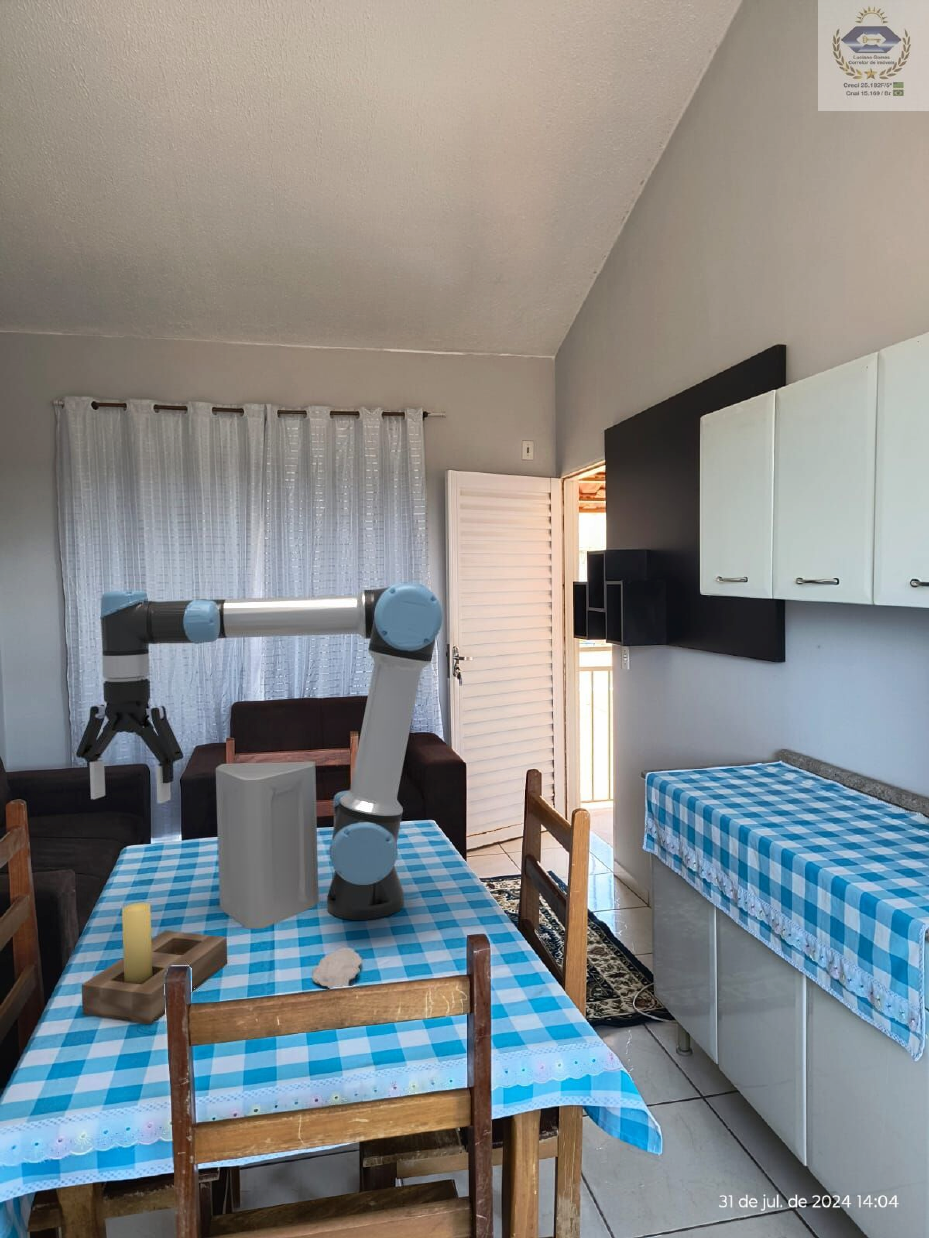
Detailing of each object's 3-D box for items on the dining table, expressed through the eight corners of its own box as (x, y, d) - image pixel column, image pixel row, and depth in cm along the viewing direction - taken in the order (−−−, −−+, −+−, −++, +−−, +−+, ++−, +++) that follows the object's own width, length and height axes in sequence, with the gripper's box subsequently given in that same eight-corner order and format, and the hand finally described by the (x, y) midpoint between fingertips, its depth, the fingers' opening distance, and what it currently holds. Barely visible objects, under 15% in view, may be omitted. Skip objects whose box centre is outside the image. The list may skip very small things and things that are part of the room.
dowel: (158, 992, 127) (155, 903, 126) (141, 1005, 123) (138, 913, 122) (136, 989, 128) (133, 901, 127) (119, 1002, 124) (116, 911, 123)
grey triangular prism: (203, 930, 152) (199, 780, 151) (225, 899, 167) (221, 763, 166) (306, 927, 152) (303, 778, 151) (319, 897, 167) (315, 761, 166)
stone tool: (365, 996, 126) (359, 960, 141) (366, 976, 126) (360, 942, 141) (312, 998, 125) (312, 962, 139) (312, 978, 125) (312, 943, 140)
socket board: (227, 963, 138) (226, 937, 138) (151, 1024, 119) (150, 994, 119) (166, 955, 141) (165, 930, 141) (82, 1014, 122) (81, 984, 122)
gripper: (201, 677, 143) (205, 797, 143) (82, 675, 149) (86, 790, 150) (175, 682, 135) (179, 808, 136) (51, 680, 142) (55, 800, 143)
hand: (130, 799), depth 143 cm, fingers open, 13 cm apart
